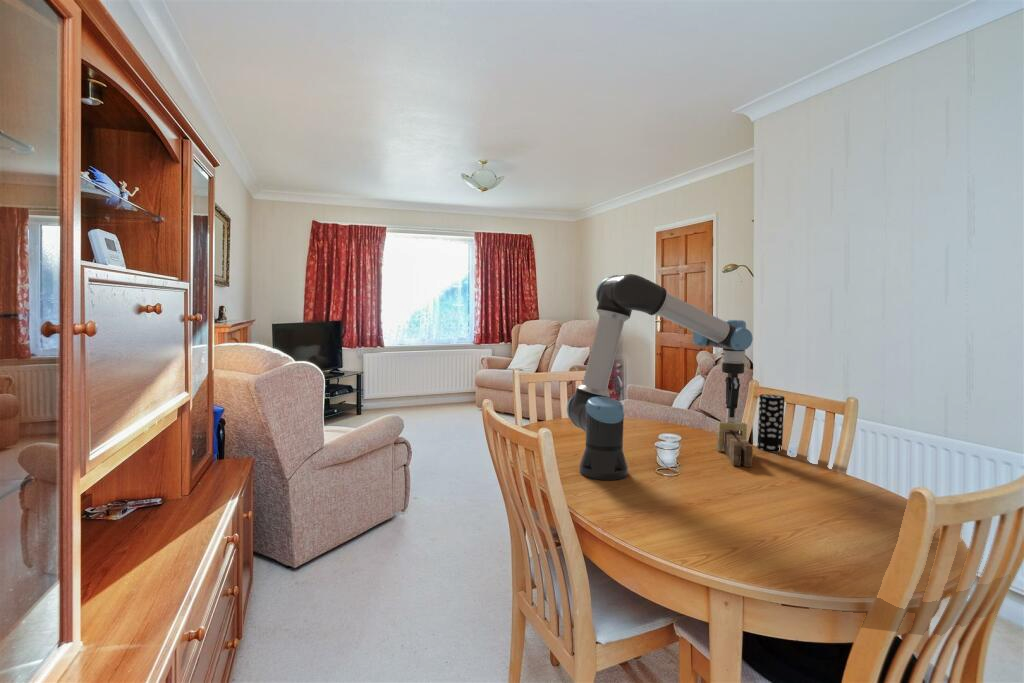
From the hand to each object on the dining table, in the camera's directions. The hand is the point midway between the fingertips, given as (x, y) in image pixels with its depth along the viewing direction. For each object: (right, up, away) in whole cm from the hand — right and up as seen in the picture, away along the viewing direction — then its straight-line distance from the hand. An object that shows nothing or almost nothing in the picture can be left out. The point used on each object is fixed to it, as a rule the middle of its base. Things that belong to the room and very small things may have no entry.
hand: (730, 425), depth 190 cm
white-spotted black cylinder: (+16, -10, +3) cm, 19 cm away
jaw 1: (-4, -10, -9) cm, 14 cm away
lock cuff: (0, -9, -2) cm, 10 cm away
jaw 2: (-1, -10, -10) cm, 14 cm away
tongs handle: (+1, -9, +6) cm, 11 cm away
